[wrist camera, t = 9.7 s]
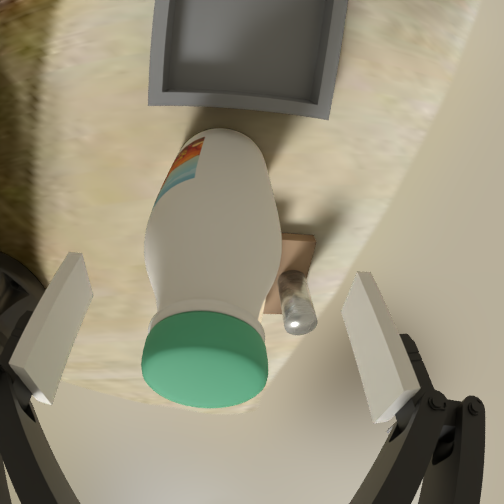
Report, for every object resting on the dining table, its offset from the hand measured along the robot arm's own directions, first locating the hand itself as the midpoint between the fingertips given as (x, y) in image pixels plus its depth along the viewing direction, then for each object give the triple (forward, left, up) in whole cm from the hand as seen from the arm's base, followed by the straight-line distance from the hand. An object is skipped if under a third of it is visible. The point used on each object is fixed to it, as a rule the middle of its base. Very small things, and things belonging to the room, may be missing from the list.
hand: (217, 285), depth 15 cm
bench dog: (+8, -11, -13) cm, 19 cm away
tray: (+1, +12, -15) cm, 19 cm away
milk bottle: (0, 0, -15) cm, 15 cm away
